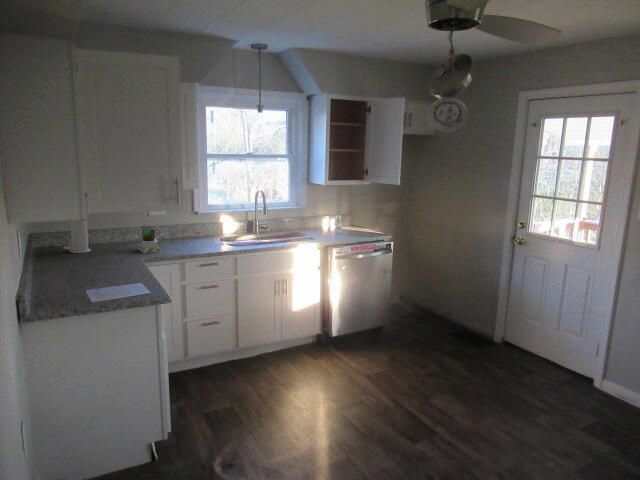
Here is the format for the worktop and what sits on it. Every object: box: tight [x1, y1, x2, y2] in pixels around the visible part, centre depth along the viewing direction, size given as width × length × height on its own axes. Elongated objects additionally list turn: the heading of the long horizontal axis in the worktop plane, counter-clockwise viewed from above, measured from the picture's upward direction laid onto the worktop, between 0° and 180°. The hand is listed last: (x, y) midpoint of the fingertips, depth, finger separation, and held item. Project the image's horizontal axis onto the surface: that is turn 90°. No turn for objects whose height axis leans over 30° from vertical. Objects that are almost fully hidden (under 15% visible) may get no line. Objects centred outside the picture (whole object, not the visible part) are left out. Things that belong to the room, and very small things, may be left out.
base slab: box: [137, 243, 160, 254], centre depth 320 cm, size 10×14×4 cm
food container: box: [140, 224, 157, 241], centre depth 317 cm, size 12×6×10 cm, turn 54°
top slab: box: [141, 238, 159, 248], centre depth 320 cm, size 9×13×4 cm
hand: (119, 202), depth 325 cm, fingers open, 9 cm apart
